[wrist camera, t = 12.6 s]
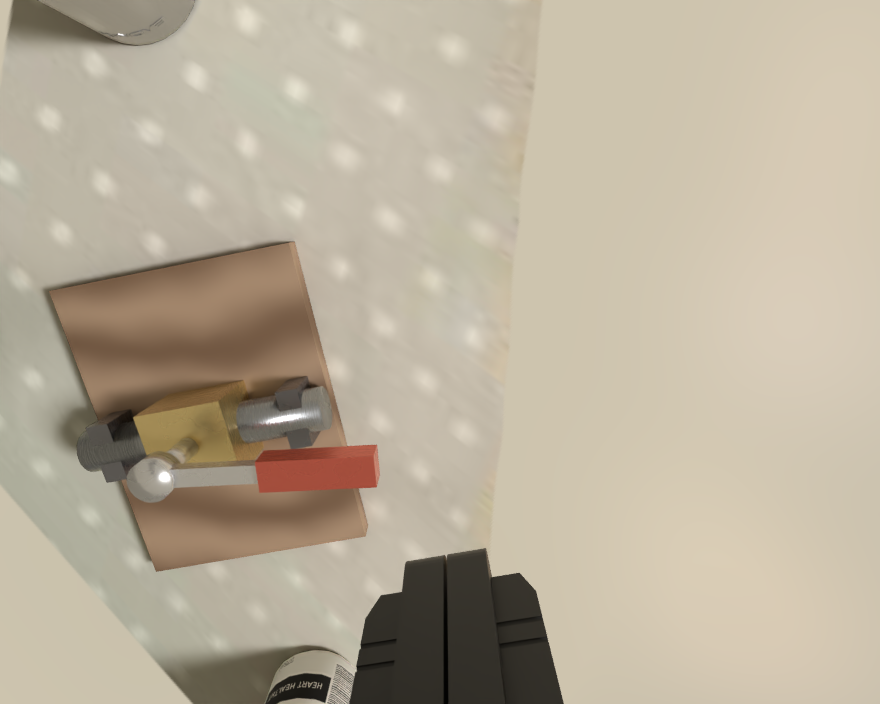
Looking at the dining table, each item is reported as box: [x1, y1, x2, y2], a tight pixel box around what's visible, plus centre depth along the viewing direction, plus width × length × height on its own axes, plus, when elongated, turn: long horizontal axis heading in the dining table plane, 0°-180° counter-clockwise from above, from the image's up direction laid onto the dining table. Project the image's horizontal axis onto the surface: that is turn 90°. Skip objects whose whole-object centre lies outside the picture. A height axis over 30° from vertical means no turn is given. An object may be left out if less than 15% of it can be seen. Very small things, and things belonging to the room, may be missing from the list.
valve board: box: [49, 242, 368, 572], centre depth 41 cm, size 24×18×2 cm
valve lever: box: [126, 445, 380, 503], centre depth 32 cm, size 15×3×2 cm, turn 93°
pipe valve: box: [77, 376, 332, 483], centre depth 37 cm, size 6×18×9 cm, turn 101°
